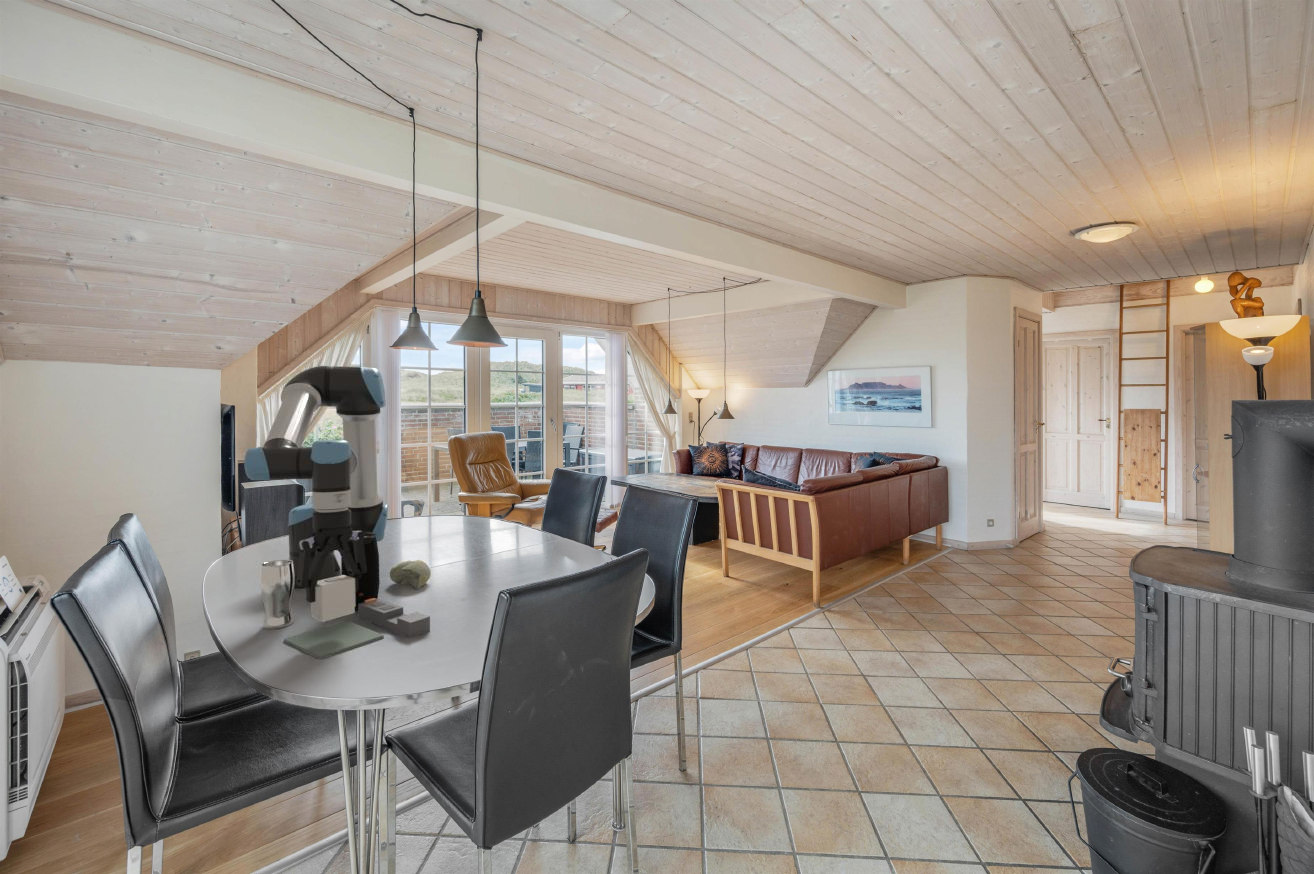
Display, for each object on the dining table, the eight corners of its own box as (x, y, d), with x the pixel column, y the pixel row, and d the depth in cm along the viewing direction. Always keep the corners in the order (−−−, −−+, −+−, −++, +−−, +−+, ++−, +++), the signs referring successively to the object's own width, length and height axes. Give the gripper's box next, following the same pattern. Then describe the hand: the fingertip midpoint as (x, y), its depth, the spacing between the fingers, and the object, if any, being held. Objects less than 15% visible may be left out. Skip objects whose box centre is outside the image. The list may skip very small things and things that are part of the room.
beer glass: (269, 632, 135) (268, 568, 134) (255, 625, 138) (253, 563, 138) (301, 622, 141) (300, 561, 140) (286, 617, 144) (285, 557, 144)
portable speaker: (372, 612, 149) (371, 538, 148) (335, 612, 148) (333, 538, 147) (385, 601, 157) (384, 531, 156) (350, 601, 156) (348, 531, 155)
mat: (283, 641, 130) (283, 638, 130) (346, 622, 141) (346, 620, 141) (319, 659, 121) (319, 656, 121) (383, 637, 132) (383, 635, 132)
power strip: (358, 617, 145) (358, 601, 144) (377, 611, 149) (377, 596, 149) (410, 637, 132) (410, 620, 132) (430, 630, 136) (429, 613, 136)
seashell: (382, 561, 170) (413, 550, 178) (385, 586, 172) (415, 574, 180) (409, 572, 163) (439, 560, 172) (411, 598, 165) (441, 585, 173)
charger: (312, 617, 129) (311, 581, 129) (344, 608, 135) (343, 573, 134) (322, 621, 126) (322, 584, 126) (354, 612, 132) (354, 577, 132)
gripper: (291, 517, 119) (293, 627, 120) (383, 505, 136) (385, 602, 137) (274, 513, 123) (277, 620, 124) (366, 502, 140) (367, 596, 141)
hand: (333, 610), depth 130 cm, fingers closed on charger, 7 cm apart
